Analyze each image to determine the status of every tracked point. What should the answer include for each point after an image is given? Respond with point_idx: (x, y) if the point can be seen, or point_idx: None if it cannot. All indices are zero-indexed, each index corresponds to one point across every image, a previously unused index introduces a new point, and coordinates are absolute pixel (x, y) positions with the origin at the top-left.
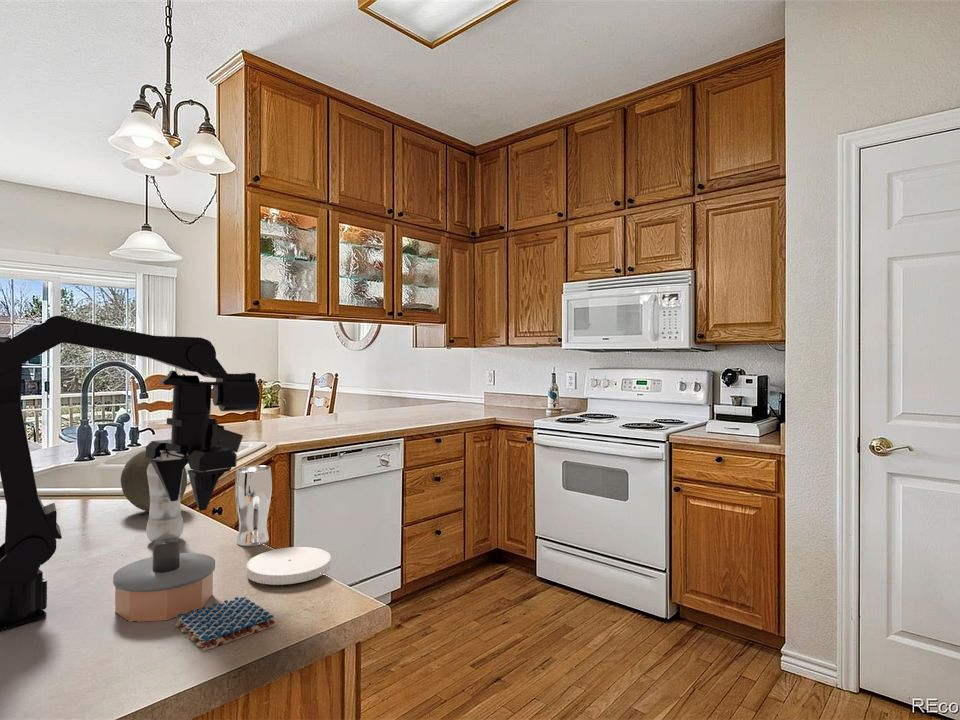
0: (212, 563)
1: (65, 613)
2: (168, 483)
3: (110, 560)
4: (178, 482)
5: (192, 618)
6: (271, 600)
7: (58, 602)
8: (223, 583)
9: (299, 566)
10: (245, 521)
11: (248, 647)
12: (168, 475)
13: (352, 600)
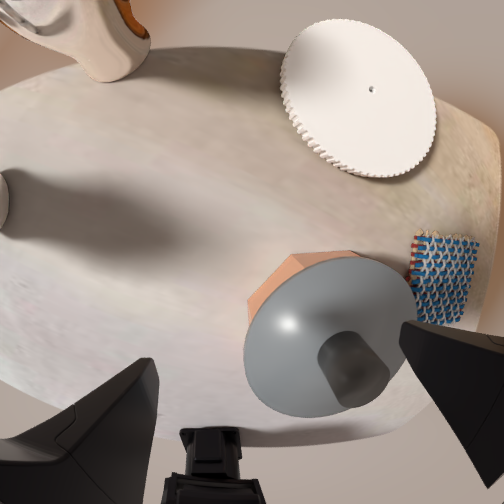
0: (392, 275)
1: (238, 413)
2: (140, 458)
3: (39, 310)
4: (122, 419)
5: (422, 319)
6: (430, 196)
7: (188, 411)
8: (316, 209)
9: (411, 106)
10: (105, 47)
11: (476, 283)
12: (128, 494)
13: (480, 134)
